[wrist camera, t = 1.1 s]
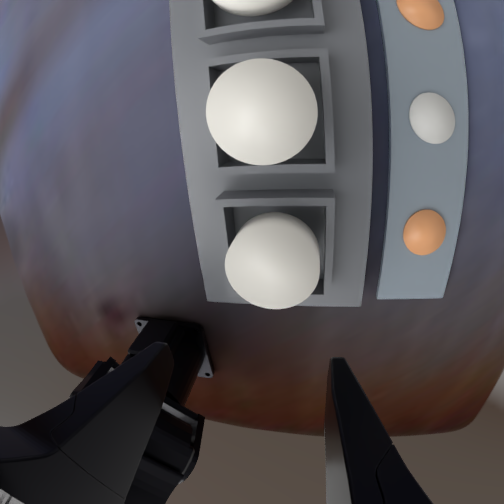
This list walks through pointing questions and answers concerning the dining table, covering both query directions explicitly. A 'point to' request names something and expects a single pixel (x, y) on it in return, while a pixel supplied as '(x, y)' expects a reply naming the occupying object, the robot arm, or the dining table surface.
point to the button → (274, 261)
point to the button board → (300, 165)
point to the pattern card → (423, 145)
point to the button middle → (261, 111)
